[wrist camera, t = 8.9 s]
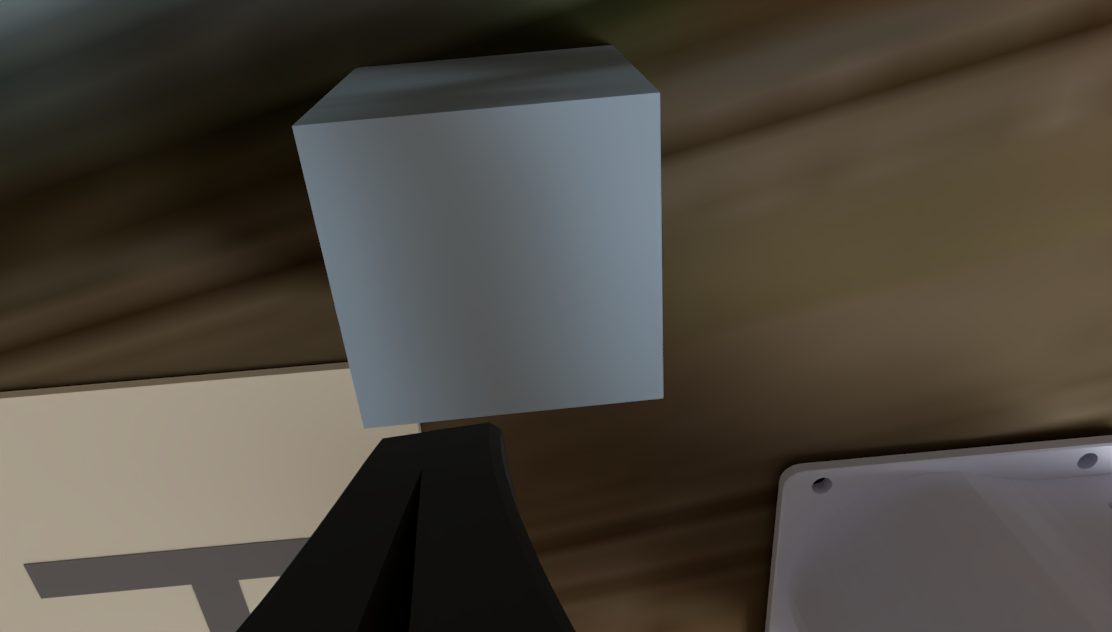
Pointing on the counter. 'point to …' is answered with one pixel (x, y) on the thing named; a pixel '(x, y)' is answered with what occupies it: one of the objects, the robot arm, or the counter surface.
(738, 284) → the counter surface
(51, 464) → the letter board
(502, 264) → the slate-blue cube
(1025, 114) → the counter surface
